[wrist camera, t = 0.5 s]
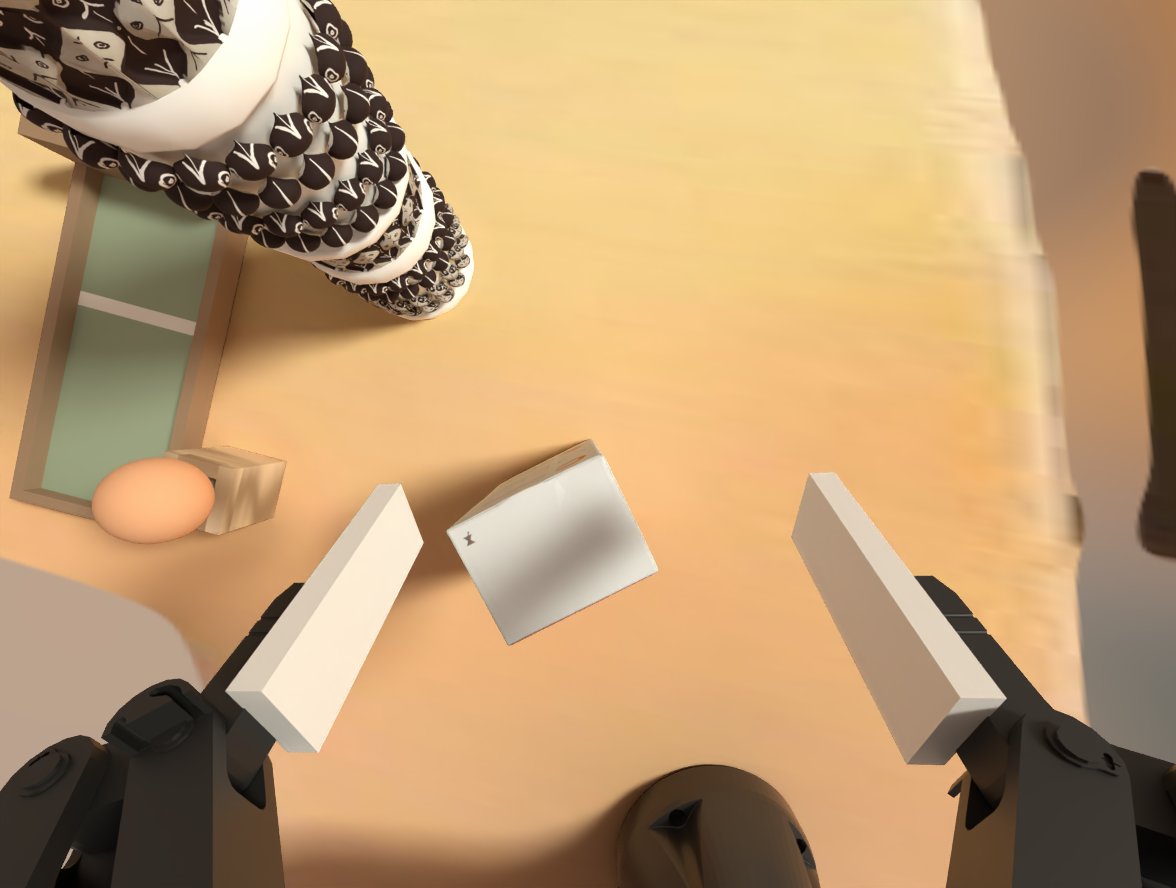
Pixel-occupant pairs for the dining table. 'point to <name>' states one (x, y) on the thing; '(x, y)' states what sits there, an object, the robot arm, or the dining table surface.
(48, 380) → the tray
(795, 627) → the dining table surface
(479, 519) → the small box
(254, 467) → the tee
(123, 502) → the ball
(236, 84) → the decorative candle
